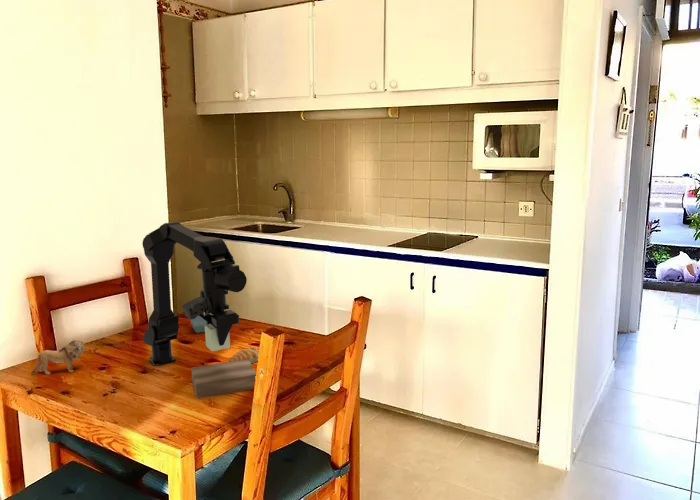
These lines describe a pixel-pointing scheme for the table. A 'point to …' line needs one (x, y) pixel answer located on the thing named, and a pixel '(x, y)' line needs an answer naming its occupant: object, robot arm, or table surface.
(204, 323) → the flower pot
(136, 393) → the table surface
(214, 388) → the walnut box
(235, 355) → the pastry
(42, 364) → the lion figurine
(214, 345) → the sage cube
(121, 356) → the table surface
